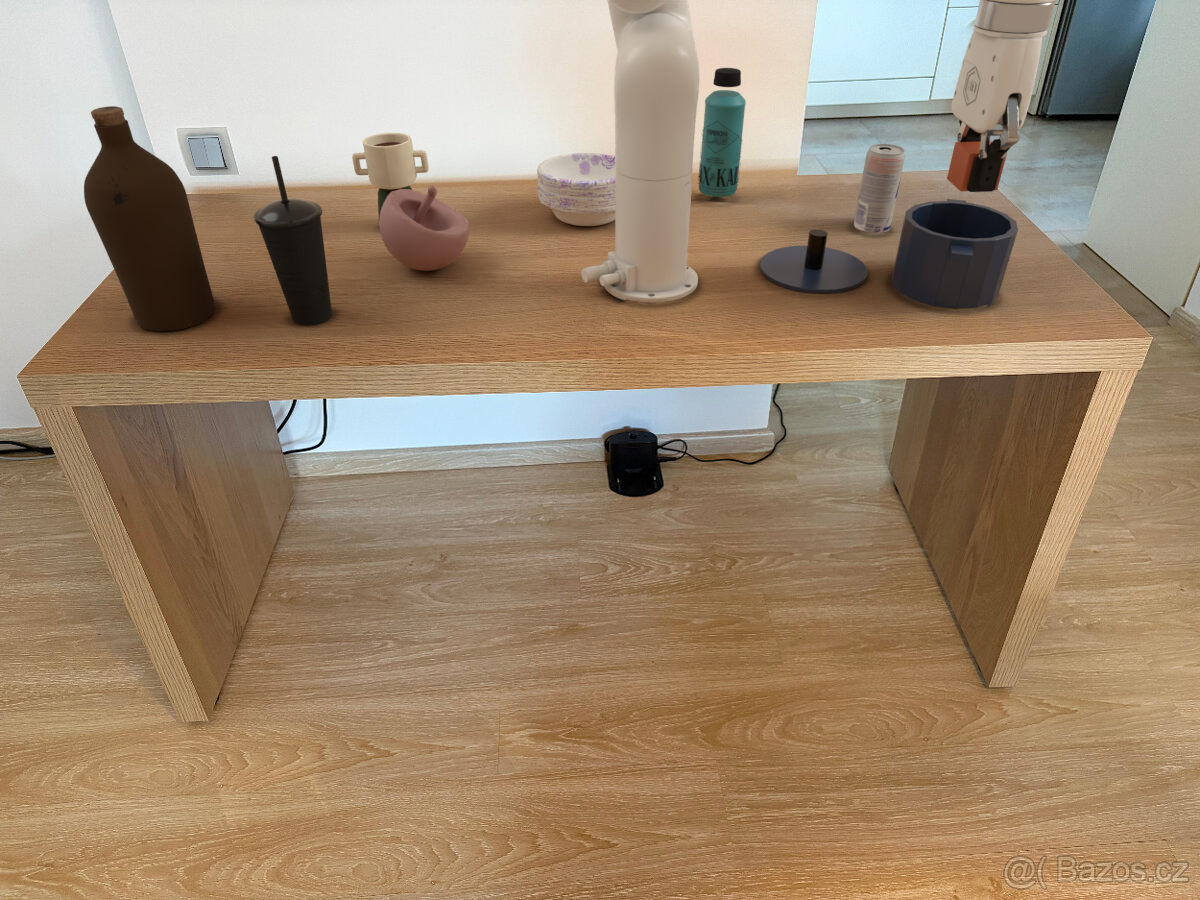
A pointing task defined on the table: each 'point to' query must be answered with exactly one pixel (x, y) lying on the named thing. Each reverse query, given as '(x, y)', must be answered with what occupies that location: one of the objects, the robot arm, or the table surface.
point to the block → (965, 164)
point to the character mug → (390, 163)
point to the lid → (813, 267)
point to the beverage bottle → (722, 136)
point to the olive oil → (146, 229)
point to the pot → (953, 254)
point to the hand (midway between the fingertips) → (971, 181)
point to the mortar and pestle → (422, 229)
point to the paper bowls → (579, 188)
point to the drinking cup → (297, 253)
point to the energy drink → (879, 188)
